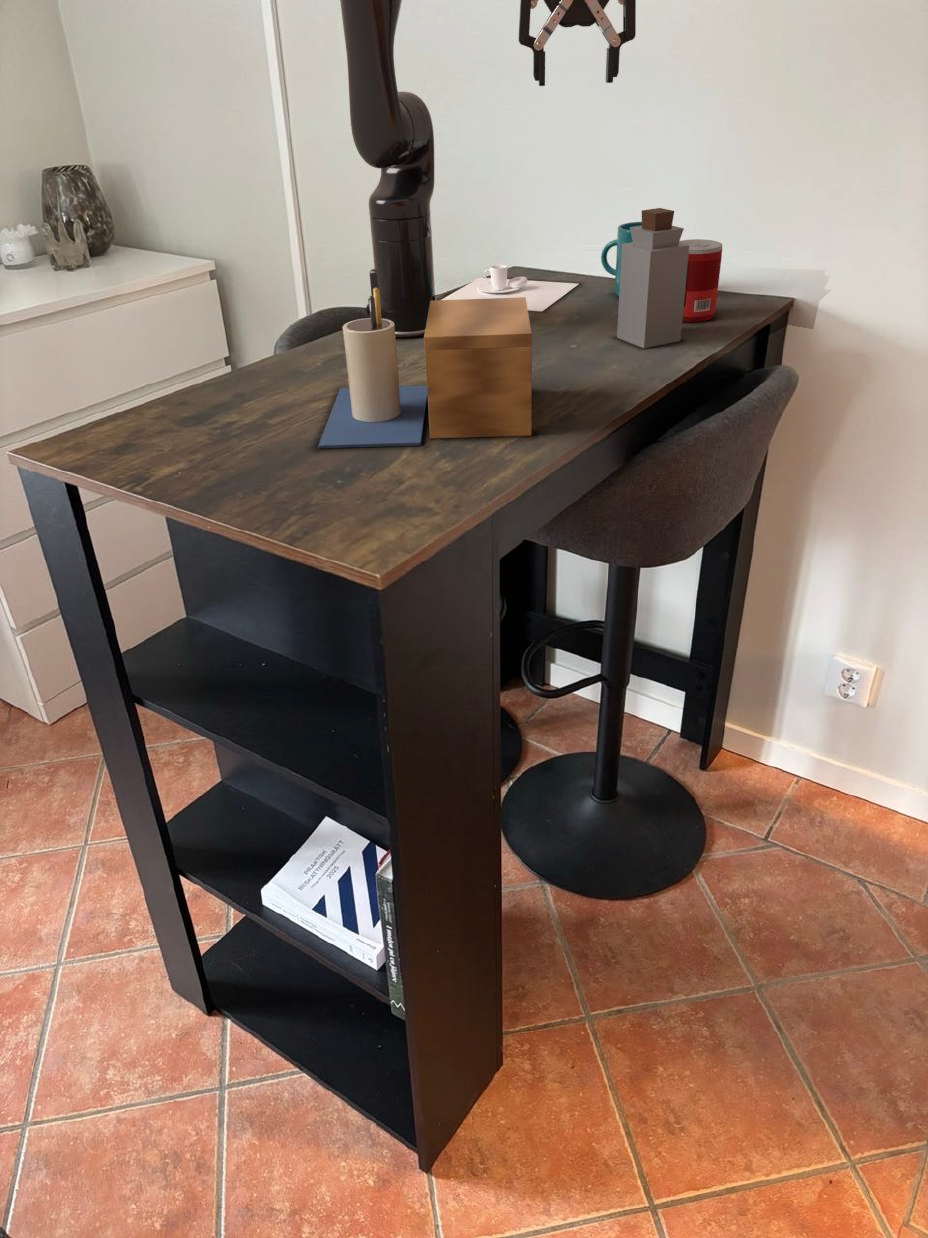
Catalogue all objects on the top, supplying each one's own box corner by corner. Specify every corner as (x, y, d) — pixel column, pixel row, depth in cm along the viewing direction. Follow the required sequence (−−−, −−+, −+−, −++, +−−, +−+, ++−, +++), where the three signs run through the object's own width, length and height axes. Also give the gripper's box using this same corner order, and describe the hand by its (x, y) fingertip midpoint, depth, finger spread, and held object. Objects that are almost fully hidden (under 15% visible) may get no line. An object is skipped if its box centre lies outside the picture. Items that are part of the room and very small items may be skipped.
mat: (318, 448, 107) (318, 445, 107) (340, 390, 124) (340, 388, 124) (420, 445, 107) (420, 442, 106) (428, 388, 123) (428, 385, 123)
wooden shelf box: (430, 438, 108) (423, 336, 102) (435, 392, 122) (430, 300, 115) (531, 435, 108) (531, 333, 101) (525, 389, 121) (525, 296, 115)
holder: (343, 419, 114) (329, 293, 105) (365, 402, 118) (353, 281, 110) (388, 424, 112) (377, 296, 103) (409, 407, 116) (400, 283, 108)
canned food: (721, 312, 149) (729, 240, 143) (704, 325, 143) (712, 250, 137) (676, 307, 152) (683, 237, 146) (658, 319, 147) (664, 247, 141)
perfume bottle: (643, 348, 134) (653, 216, 125) (616, 337, 140) (623, 209, 130) (680, 340, 137) (692, 210, 127) (652, 330, 142) (662, 204, 132)
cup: (608, 285, 167) (611, 219, 161) (673, 290, 162) (678, 222, 156) (591, 297, 160) (593, 228, 154) (657, 303, 155) (663, 232, 149)
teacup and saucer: (531, 286, 168) (531, 262, 166) (515, 296, 162) (515, 272, 160) (487, 283, 171) (487, 260, 169) (470, 293, 165) (469, 270, 163)
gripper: (635, -77, 110) (627, 80, 119) (517, -71, 110) (518, 84, 119) (645, -83, 104) (635, 83, 112) (519, -76, 104) (520, 88, 113)
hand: (575, 83), depth 116 cm, fingers open, 8 cm apart
